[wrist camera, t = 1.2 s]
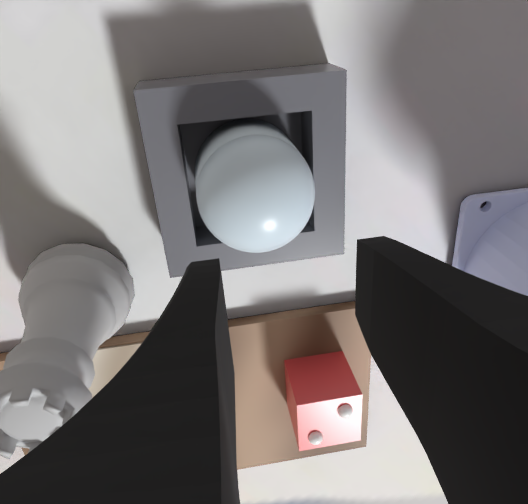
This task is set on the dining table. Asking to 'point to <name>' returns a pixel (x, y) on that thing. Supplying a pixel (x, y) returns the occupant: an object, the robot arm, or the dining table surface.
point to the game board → (266, 374)
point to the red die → (323, 400)
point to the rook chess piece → (59, 340)
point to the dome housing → (235, 108)
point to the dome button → (253, 186)
